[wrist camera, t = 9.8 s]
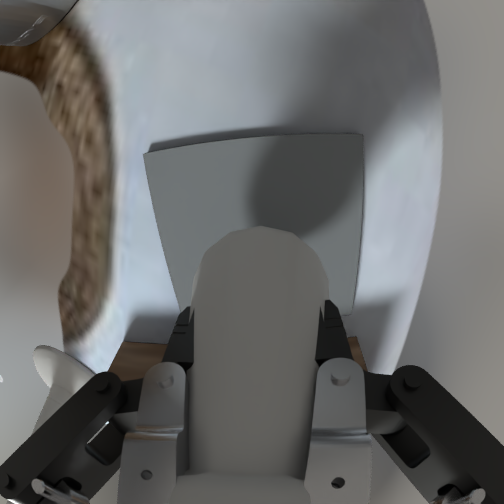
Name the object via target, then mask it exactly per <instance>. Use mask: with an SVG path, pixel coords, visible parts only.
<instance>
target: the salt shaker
mask: <svg viewBox="0 0 504 504" xmlns="http://www.w3.org/2000/svg"><path fill="white" fill-rule="evenodd" d="M325 300H329V280H328V278H327V275H326V273H325V270H324V268H323V266H322V263H321V261H320V259H319V256H318V255H317V254H316V252H315V251H314V250H313V249H312V248H310V247H309V246H308V245H307V244H306V243H304V242H303V241H302V240H301V239H300V238H298V237H297V236H296V235H295V234H294V233H292V232H288V231H283V230H279V229H274V228H269V227H265V226H257V227H252V228H247V229H241V230H236V231H232V232H230V233H228V234H227V235H226V236H224V237H223V238H222V239H220V240H219V241H218V242H216V243H215V244H214V245H213V246H211V247H210V248H209V249H208V250H207V251H206V252H205V253H204V255H203V258H202V260H201V262H200V264H199V267H198V269H197V271H196V274H195V276H194V279H193V288H192V297H191V307H190V318H189V322H190V319H191V316H192V313H193V310H194V363H193V365H192V367H191V368H190V369H188V370H187V378H188V381H189V462H190V469H189V470H187V471H185V475H183V476H178V478H177V483H176V486H175V487H174V488H173V489H172V492H171V495H170V498H169V502H168V504H311V499H310V495H309V493H308V492H307V490H306V489H305V487H304V476H305V467H306V461H307V454H308V447H309V440H310V433H311V425H312V417H313V408H314V399H315V389H316V380H317V373H318V370H319V366H318V364H317V363H316V361H315V360H314V359H315V354H316V344H317V335H318V324H319V313H320V307H321V311H322V315H323V319H324V307H325ZM331 485H332V484H331ZM332 487H333V488H335V489H339V488H337V487H336V486H334V485H332Z"/></svg>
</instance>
